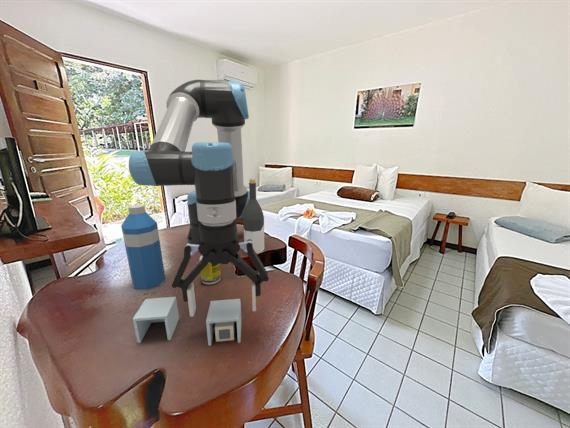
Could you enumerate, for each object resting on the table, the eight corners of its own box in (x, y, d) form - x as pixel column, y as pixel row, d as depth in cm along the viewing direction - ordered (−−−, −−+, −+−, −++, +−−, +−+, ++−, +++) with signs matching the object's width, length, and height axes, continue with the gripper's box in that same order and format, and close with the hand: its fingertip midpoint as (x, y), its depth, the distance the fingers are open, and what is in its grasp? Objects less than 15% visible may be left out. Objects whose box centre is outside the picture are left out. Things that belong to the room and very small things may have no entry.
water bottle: (171, 277, 80) (161, 204, 73) (145, 293, 72) (131, 212, 65) (152, 271, 84) (140, 201, 77) (125, 285, 76) (109, 208, 69)
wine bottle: (245, 248, 102) (242, 177, 94) (265, 248, 102) (263, 177, 94) (243, 257, 94) (239, 180, 86) (264, 257, 95) (262, 180, 86)
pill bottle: (215, 286, 76) (213, 254, 72) (197, 284, 77) (194, 252, 74) (224, 276, 81) (222, 245, 78) (207, 274, 83) (204, 244, 79)
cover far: (212, 323, 60) (210, 300, 58) (241, 320, 61) (240, 298, 59) (208, 345, 54) (205, 321, 52) (240, 342, 55) (239, 318, 53)
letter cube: (218, 329, 59) (217, 315, 58) (235, 327, 59) (234, 313, 58) (215, 342, 55) (214, 327, 54) (234, 340, 55) (233, 326, 54)
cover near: (149, 321, 61) (145, 298, 59) (179, 318, 62) (176, 296, 60) (137, 343, 54) (132, 318, 52) (170, 340, 55) (166, 316, 53)
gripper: (144, 229, 44) (160, 326, 50) (280, 224, 48) (280, 316, 53) (159, 217, 51) (171, 304, 57) (276, 214, 55) (276, 295, 61)
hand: (224, 310), depth 55 cm, fingers open, 13 cm apart
